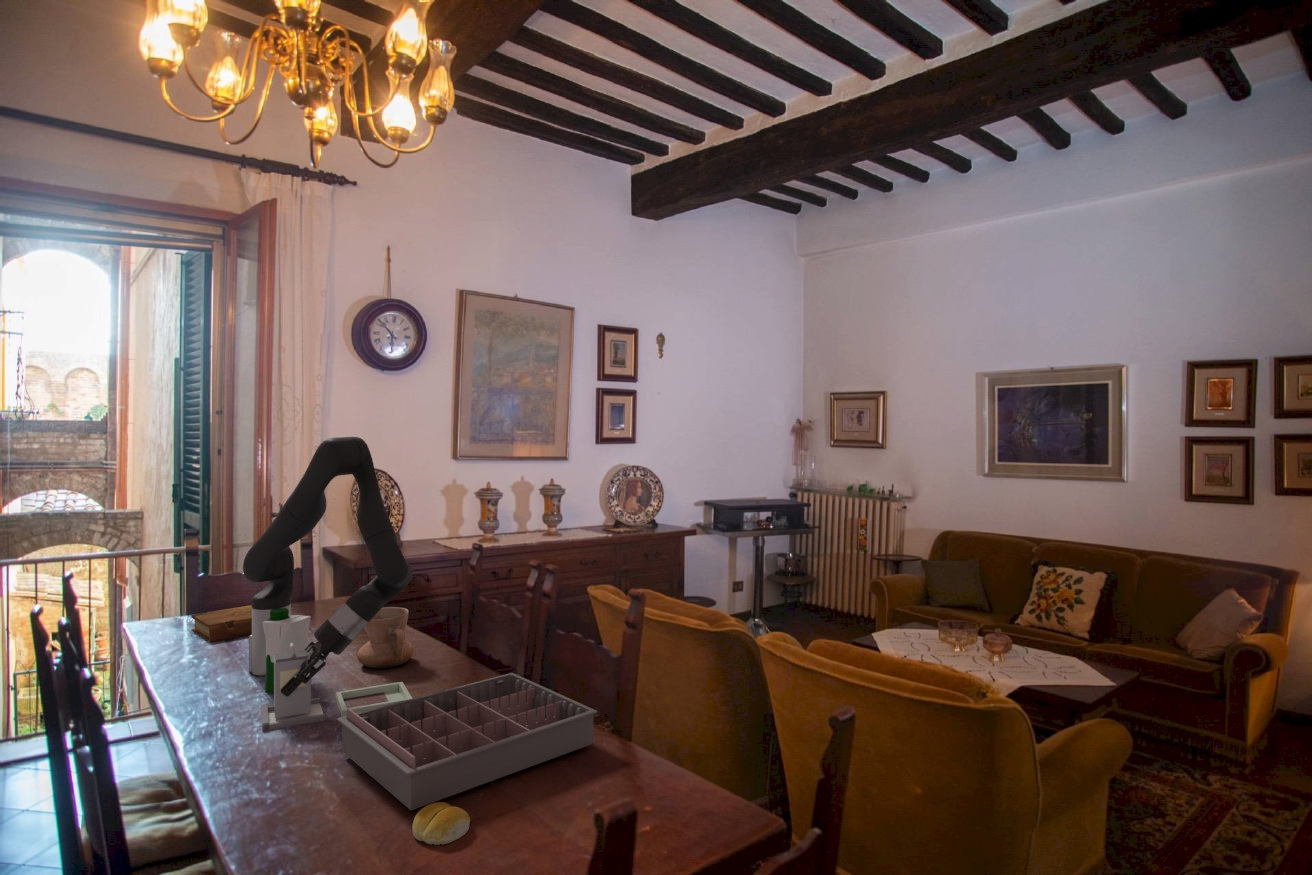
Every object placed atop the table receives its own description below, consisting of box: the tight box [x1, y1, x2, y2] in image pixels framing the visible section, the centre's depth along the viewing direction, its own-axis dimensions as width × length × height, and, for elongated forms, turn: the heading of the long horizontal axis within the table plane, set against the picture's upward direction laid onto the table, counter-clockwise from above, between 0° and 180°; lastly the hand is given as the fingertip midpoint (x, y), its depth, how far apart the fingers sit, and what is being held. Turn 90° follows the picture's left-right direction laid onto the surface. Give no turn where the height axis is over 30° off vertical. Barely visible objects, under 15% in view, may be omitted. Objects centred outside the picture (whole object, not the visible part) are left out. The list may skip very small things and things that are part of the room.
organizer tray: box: [336, 672, 599, 811], centre depth 148 cm, size 32×40×10 cm
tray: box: [335, 681, 413, 717], centre depth 173 cm, size 15×13×2 cm
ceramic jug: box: [356, 606, 414, 669], centre depth 203 cm, size 18×14×14 cm
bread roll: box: [411, 801, 471, 846], centre depth 120 cm, size 8×9×4 cm
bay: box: [260, 697, 326, 732], centre depth 164 cm, size 12×12×2 cm
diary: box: [190, 604, 252, 643], centre depth 237 cm, size 23×19×6 cm
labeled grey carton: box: [273, 643, 312, 718], centre depth 164 cm, size 7×5×15 cm
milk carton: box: [262, 608, 312, 694], centre depth 182 cm, size 9×9×20 cm
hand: (283, 689), depth 164 cm, fingers closed on labeled grey carton, 5 cm apart
